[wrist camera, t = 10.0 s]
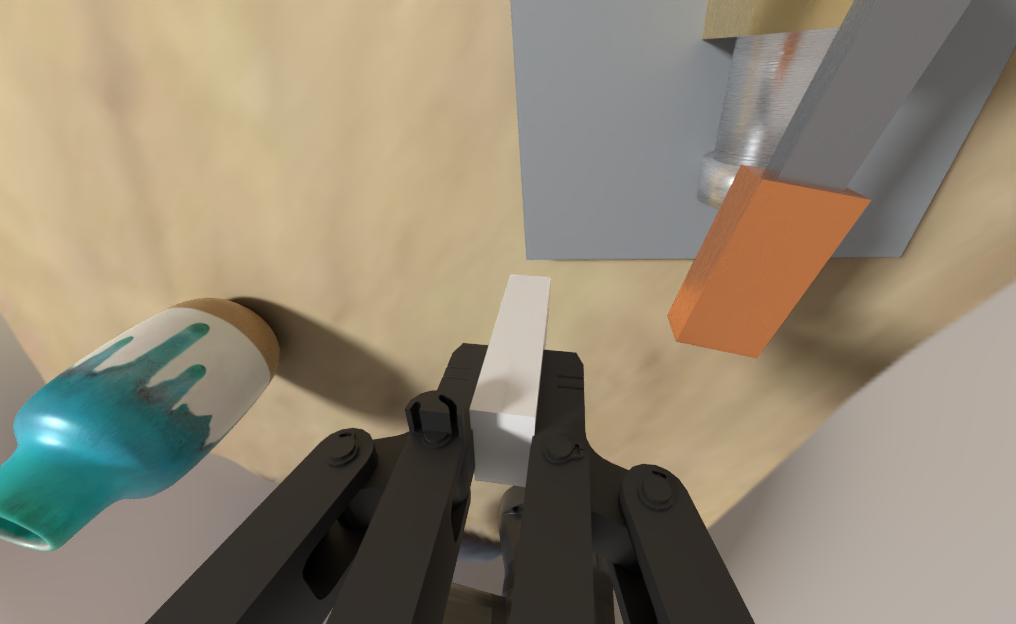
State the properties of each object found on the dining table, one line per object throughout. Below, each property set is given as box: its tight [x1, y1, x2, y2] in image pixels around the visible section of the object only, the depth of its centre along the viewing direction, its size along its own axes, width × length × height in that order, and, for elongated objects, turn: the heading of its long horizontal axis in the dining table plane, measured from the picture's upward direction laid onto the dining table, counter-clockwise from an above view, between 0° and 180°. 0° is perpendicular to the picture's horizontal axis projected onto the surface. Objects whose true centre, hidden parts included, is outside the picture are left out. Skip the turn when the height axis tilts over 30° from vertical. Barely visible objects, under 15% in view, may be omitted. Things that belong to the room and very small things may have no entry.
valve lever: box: [667, 0, 972, 358], centre depth 11 cm, size 4×16×2 cm, turn 172°
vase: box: [0, 298, 280, 551], centre depth 29 cm, size 11×11×19 cm
